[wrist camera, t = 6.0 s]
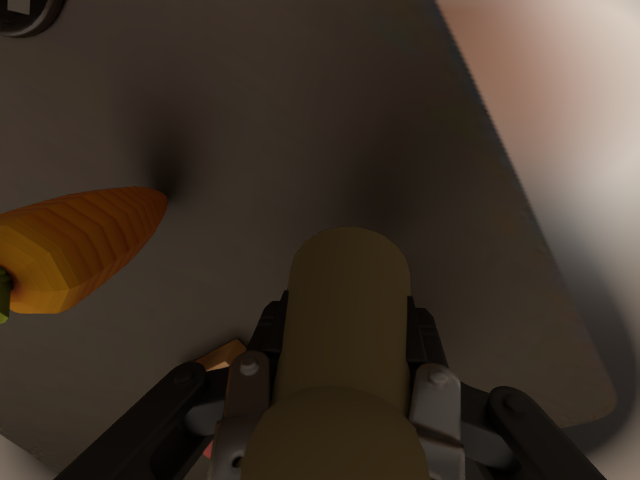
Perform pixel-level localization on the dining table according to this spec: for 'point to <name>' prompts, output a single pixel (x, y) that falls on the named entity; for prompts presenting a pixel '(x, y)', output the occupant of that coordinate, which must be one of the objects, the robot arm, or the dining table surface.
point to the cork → (341, 368)
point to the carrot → (72, 246)
